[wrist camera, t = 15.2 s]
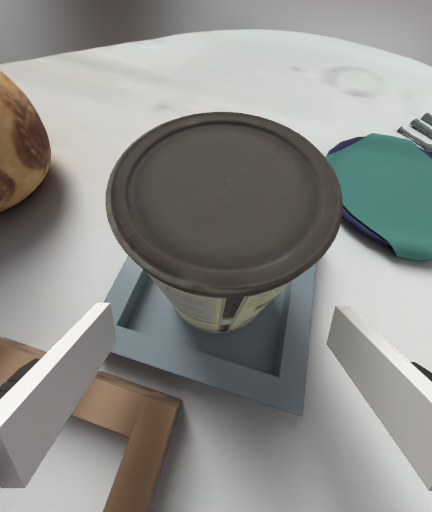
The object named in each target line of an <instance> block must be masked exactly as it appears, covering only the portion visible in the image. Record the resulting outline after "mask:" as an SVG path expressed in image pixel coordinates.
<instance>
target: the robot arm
mask: <svg viewBox="0 0 432 512" xmlns="http://www.w3.org/2000/svg"><path fill="white" fill-rule="evenodd" d="M116 342H117V339H116V333H115V327H114V321H113V315H112V309H111V303H96V304H95V305H94V306H93V307H92V308H91V309H90V310H89V311H88V312H87V313H86V314H85V315H84V316H83V317H82V318H81V319H80V320H79V321H78V322H77V323H76V324H75V325H74V326H73V327H72V328H71V329H70V330H69V331H68V332H67V333H66V334H65V335H64V336H63V337H62V338H61V339H60V340H59V341H58V342H57V343H56V344H55V345H54V346H53V347H52V348H51V349H50V350H49V351H48V352H47V353H46V354H45V355H44V356H43V357H42V358H41V359H33V360H32V361H30V362H28V363H27V364H25V365H24V366H22V367H21V368H19V369H18V370H17V371H16V372H15V373H14V374H13V375H12V376H11V377H10V378H9V379H8V380H7V382H4V383H3V384H2V385H1V386H0V487H1V488H25V487H26V486H27V484H28V482H29V481H30V479H31V478H32V476H33V474H34V473H35V471H36V470H37V468H38V466H39V465H40V463H41V462H42V460H43V459H44V457H45V455H46V454H47V452H48V451H49V449H50V447H51V446H52V444H53V443H54V441H55V439H56V438H57V436H58V435H59V433H60V431H61V430H62V428H63V427H64V425H65V423H66V422H67V420H68V419H69V417H70V415H71V414H72V412H73V411H74V409H75V407H76V406H77V404H78V403H79V401H80V400H81V398H82V396H83V395H84V393H85V392H86V390H87V388H88V387H89V385H90V384H91V382H92V380H93V379H94V377H95V376H96V374H97V372H98V371H99V369H100V368H101V366H102V364H103V363H104V361H105V360H106V358H107V356H108V355H109V353H110V352H111V350H112V348H113V347H114V345H115V344H116ZM327 345H328V347H329V348H330V350H331V351H332V352H333V354H334V355H335V357H336V358H337V360H338V361H339V362H340V364H341V365H342V367H343V368H344V370H345V371H346V372H347V374H348V375H349V377H350V378H351V380H352V381H353V382H354V384H355V385H356V387H357V388H358V390H359V391H360V392H361V394H362V395H363V397H364V398H365V400H366V401H367V403H368V404H369V405H370V407H371V408H372V410H373V411H374V413H375V414H376V415H377V417H378V418H379V420H380V421H381V423H382V424H383V425H384V427H385V428H386V430H387V431H388V433H389V434H390V435H391V437H392V438H393V440H394V441H395V443H396V444H397V446H398V447H399V448H400V450H401V451H402V453H403V454H404V456H405V457H406V458H407V460H408V461H409V463H410V464H411V466H412V467H413V468H414V470H415V471H416V473H417V474H418V476H419V477H420V478H421V480H422V481H423V483H424V484H425V486H426V487H427V488H428V490H429V491H432V373H431V372H430V371H428V370H426V369H425V368H423V367H422V366H420V365H418V364H417V363H415V362H409V361H408V360H407V359H406V358H405V357H404V356H403V355H402V354H401V353H399V352H398V351H397V350H396V349H395V348H394V347H393V346H392V345H391V344H390V343H389V342H387V341H386V340H385V339H384V338H383V337H382V336H381V335H380V334H379V333H378V332H376V331H375V330H374V329H373V328H372V327H371V326H370V325H369V324H368V323H367V322H366V321H364V320H363V319H362V318H361V317H360V316H359V315H358V314H357V313H356V312H355V311H353V310H352V309H351V308H350V307H349V306H335V311H334V315H333V319H332V323H331V328H330V332H329V336H328V340H327Z"/></svg>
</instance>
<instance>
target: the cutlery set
mask: <svg viewBox="0 0 432 512" xmlns="http://www.w3.org/2000/svg"><path fill="white" fill-rule="evenodd" d="M421 119H422V120H423V121H426V122H428V123H429V124H431V125H432V116H431V115H430V114H429V113H426V114H425V115H424V116H423V117H422V118H421ZM410 124H411V125H412V126H414V127H416V128H418V129H420V130H422V131H423V132H425V133H427V134H428V135H430V136H432V130H431V129H430V128H429V127H427V126H426V125H424V124H423V123H421V122H420V121H419V120H418V119H415V120H413V121H412V122H411V123H410ZM398 131H400V132H402V133H404V134H406V135H408V136H409V137H411V138H413V139H414V140H415V141H417V142H418V143H420V144H422V145H423V146H424V148H425V149H426V151H425V150H423V149H421V148H419V147H417V146H416V145H415V144H414V143H413V142H412V141H409V140H407V139H402V138H398V137H393V136H388V135H380V134H374V133H372V134H369V135H368V136H366V137H356V138H353V139H350V140H346V141H343V142H341V143H339V144H338V145H337V146H335V147H334V148H332V149H331V150H330V151H329V152H328V154H327V156H326V157H325V158H326V159H327V161H328V162H329V164H330V165H331V167H332V168H333V170H334V172H335V173H336V176H337V178H338V181H339V184H340V187H341V192H342V201H343V210H342V216H343V217H344V218H345V219H346V220H347V221H349V222H350V223H351V224H353V225H354V226H356V227H357V228H358V229H360V230H361V231H362V232H364V233H365V234H366V235H368V236H370V237H372V238H374V239H376V240H379V241H381V242H383V243H385V244H387V245H390V246H392V247H393V249H394V251H395V253H396V256H397V257H401V258H405V259H410V260H414V261H425V260H429V259H432V154H430V153H428V152H431V153H432V145H431V144H427V143H425V142H423V141H422V140H420V139H419V138H416V137H414V136H413V135H411V134H410V133H408V132H407V131H406V130H404V129H403V128H402V127H400V128H399V129H398Z"/></svg>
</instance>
